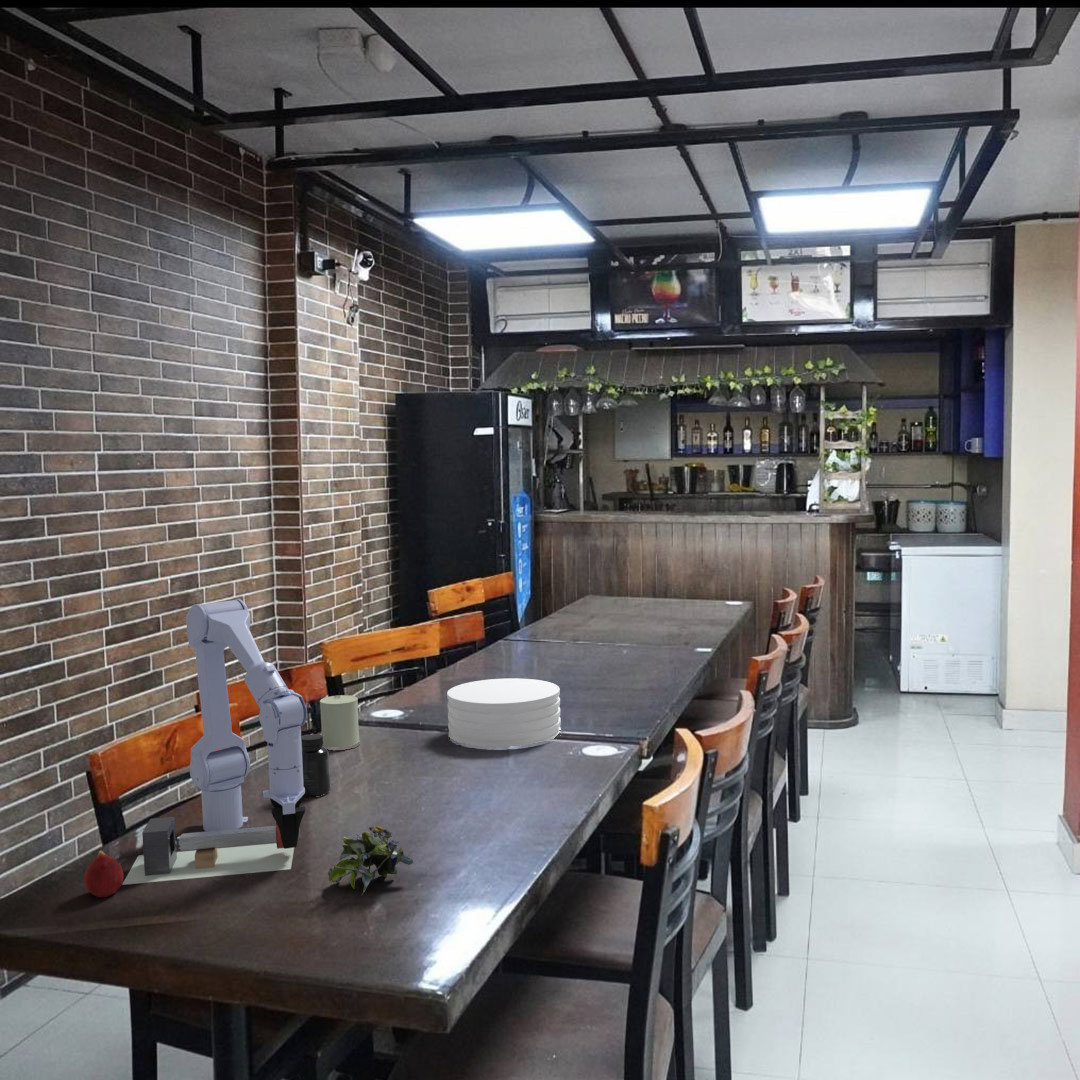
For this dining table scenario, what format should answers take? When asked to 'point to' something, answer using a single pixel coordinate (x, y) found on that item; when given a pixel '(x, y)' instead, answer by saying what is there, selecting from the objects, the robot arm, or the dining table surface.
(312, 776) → the supplement bottle
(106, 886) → the red kuri squash
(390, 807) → the dining table surface
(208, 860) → the brown rectangular block
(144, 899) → the dining table surface
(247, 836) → the rod
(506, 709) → the plate stack
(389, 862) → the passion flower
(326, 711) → the can
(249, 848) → the board
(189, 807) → the dining table surface
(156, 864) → the block
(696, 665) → the dining table surface
